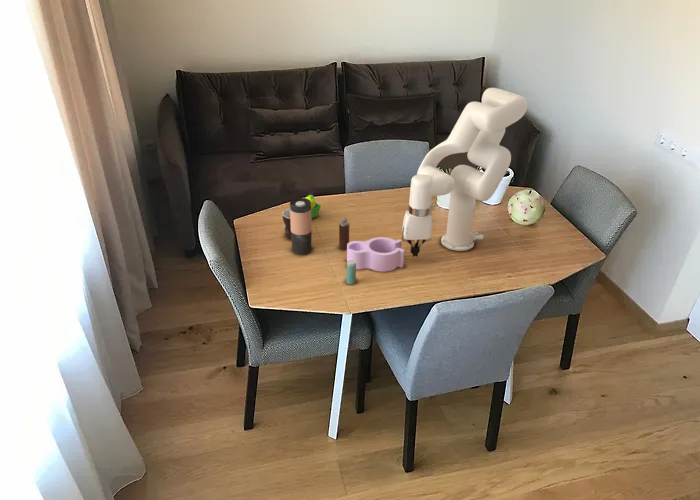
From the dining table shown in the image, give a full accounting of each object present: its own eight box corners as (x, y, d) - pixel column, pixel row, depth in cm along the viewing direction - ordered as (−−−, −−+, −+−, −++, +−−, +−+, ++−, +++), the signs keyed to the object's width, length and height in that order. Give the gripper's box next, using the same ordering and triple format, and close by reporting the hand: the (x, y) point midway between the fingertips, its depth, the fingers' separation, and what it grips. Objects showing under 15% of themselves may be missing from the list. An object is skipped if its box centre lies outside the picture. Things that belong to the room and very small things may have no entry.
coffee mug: (301, 242, 225) (301, 219, 220) (280, 240, 227) (279, 217, 221) (309, 228, 235) (309, 206, 230) (288, 225, 236) (288, 203, 231)
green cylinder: (355, 278, 205) (355, 258, 201) (356, 284, 202) (356, 264, 198) (345, 279, 205) (346, 259, 200) (346, 284, 202) (347, 264, 198)
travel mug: (315, 247, 222) (314, 200, 212) (305, 257, 217) (304, 208, 206) (297, 242, 225) (296, 195, 215) (287, 252, 219) (285, 204, 209)
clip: (349, 272, 208) (349, 256, 204) (345, 254, 219) (346, 238, 215) (404, 270, 210) (406, 254, 206) (398, 252, 221) (400, 236, 217)
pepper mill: (348, 244, 225) (349, 215, 218) (349, 249, 222) (350, 220, 215) (338, 245, 224) (338, 215, 218) (339, 250, 221) (339, 220, 215)
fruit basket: (310, 210, 248) (309, 185, 243) (323, 217, 243) (323, 192, 237) (288, 218, 242) (287, 193, 236) (302, 226, 236) (301, 201, 230)
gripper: (437, 204, 209) (432, 248, 218) (396, 205, 207) (392, 250, 217) (442, 214, 203) (437, 259, 212) (400, 215, 201) (396, 260, 210)
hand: (414, 254), depth 214 cm, fingers closed
